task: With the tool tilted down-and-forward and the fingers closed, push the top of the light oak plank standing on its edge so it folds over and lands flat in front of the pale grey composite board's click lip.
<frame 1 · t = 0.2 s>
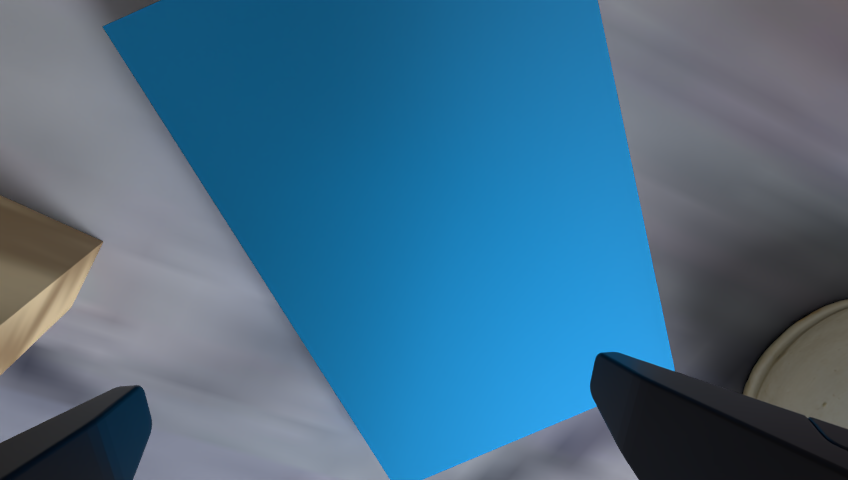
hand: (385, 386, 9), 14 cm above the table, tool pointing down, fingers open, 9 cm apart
jug: (820, 370, 32), on the table
book: (436, 212, 24), on the table
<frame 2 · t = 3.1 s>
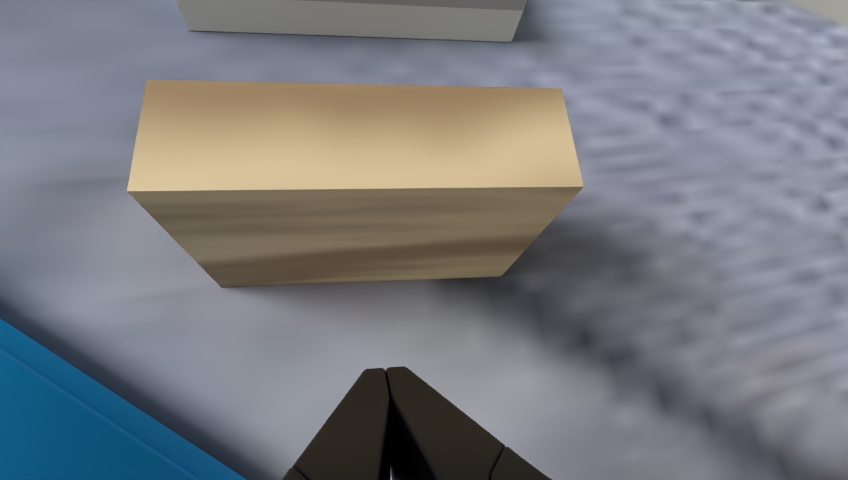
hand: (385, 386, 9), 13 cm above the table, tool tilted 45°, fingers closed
oak plank: (365, 245, 24), on the table
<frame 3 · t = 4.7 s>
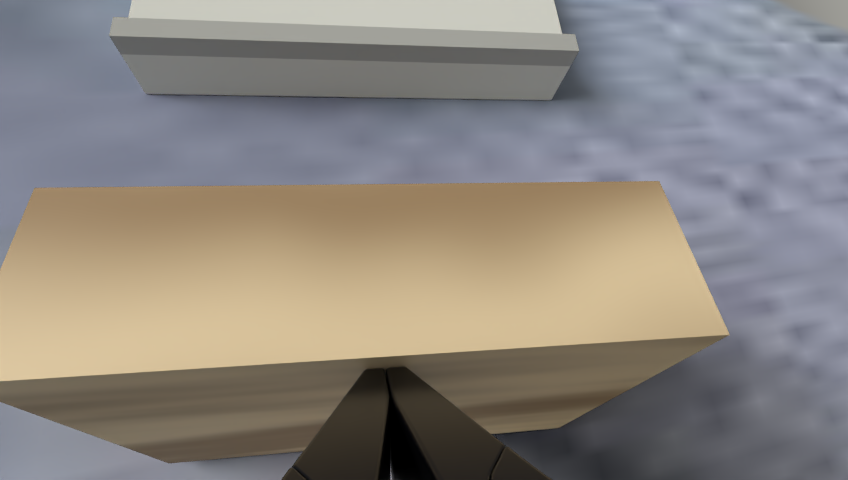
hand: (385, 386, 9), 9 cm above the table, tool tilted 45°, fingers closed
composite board: (358, 36, 25), on the table
oak plank: (372, 388, 18), on the table, tilted 10°
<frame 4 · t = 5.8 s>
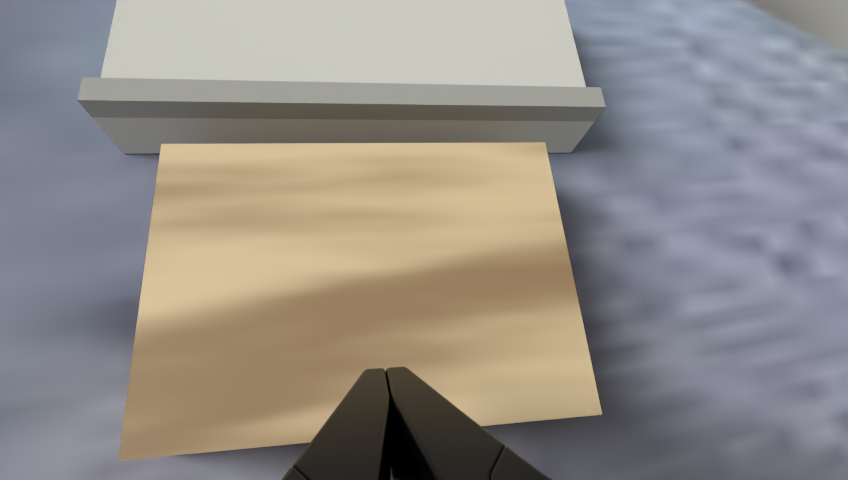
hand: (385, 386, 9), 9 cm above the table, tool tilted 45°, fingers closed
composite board: (359, 81, 23), on the table
oak plank: (376, 435, 16), point 2 cm above the table, tilted 90°
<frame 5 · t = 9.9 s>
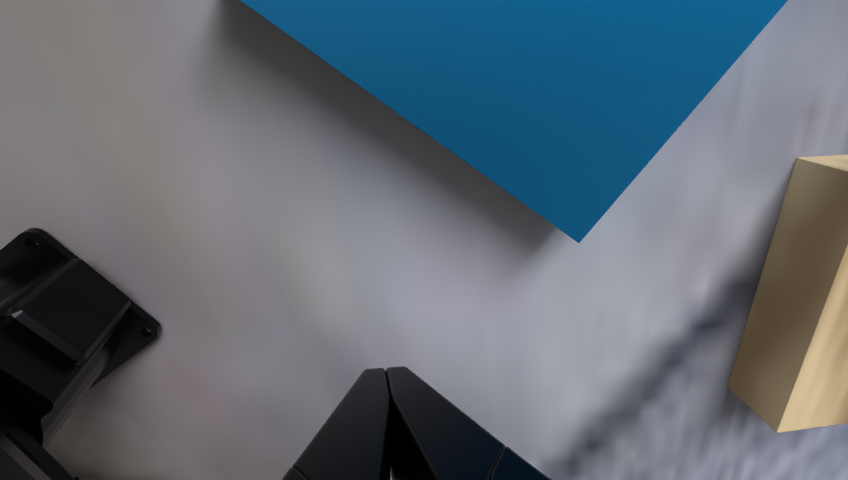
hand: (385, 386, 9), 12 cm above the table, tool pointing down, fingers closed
oak plank: (783, 300, 24), point 2 cm above the table, tilted 90°
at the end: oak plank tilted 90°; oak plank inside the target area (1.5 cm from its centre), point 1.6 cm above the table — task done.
